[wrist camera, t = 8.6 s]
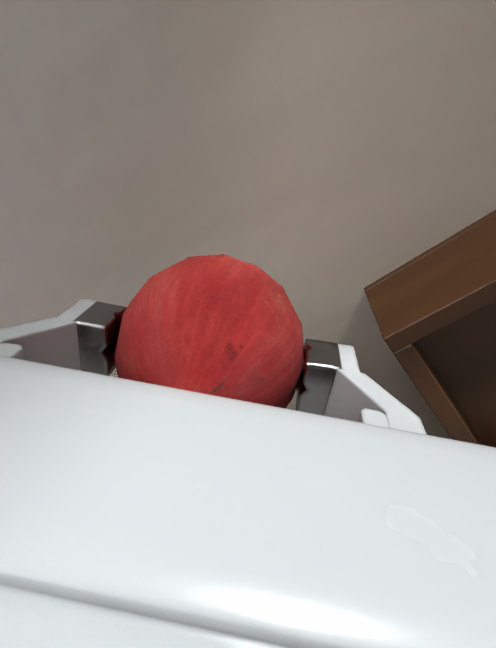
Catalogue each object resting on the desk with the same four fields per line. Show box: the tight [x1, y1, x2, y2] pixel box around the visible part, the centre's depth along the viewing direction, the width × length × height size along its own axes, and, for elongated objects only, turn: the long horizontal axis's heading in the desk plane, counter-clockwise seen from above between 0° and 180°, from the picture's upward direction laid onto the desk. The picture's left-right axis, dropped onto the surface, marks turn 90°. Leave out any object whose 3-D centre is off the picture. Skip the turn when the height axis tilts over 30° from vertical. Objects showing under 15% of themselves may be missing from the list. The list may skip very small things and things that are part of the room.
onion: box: [115, 254, 304, 408], centre depth 12 cm, size 6×6×8 cm
